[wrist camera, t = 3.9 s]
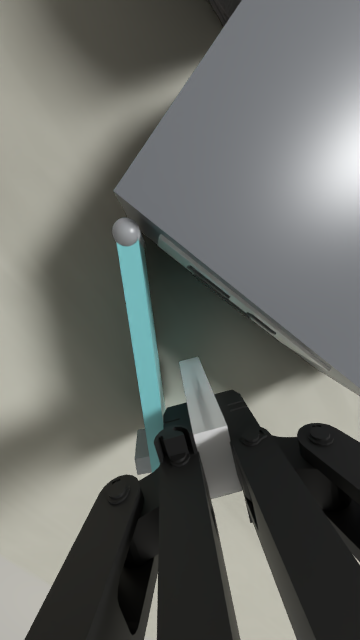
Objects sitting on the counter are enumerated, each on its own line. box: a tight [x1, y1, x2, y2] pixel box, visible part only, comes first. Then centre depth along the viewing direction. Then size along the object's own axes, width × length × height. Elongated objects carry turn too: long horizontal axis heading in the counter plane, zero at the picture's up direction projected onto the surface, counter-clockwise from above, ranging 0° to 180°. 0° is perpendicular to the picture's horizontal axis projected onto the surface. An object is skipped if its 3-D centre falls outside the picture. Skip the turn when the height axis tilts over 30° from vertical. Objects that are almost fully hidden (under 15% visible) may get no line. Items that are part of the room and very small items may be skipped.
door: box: [112, 218, 166, 475], centre depth 13 cm, size 12×2×6 cm, turn 6°
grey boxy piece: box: [113, 0, 360, 396], centre depth 13 cm, size 18×10×8 cm, turn 53°
